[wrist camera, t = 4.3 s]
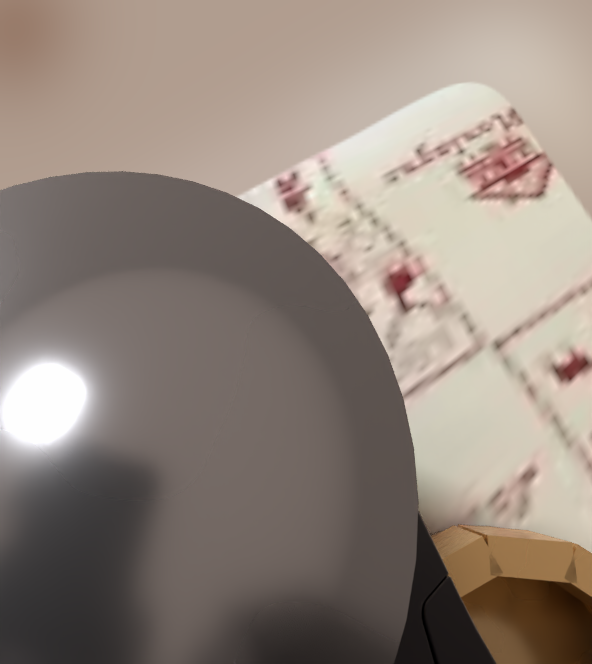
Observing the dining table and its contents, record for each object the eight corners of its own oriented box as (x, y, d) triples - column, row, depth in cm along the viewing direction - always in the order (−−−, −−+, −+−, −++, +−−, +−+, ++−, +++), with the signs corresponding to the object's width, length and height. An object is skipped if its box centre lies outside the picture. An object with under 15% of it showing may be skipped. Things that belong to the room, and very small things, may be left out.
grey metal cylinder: (361, 507, 14) (621, 709, 2) (228, 578, 14) (-430, 1382, 2) (298, 380, 16) (243, 84, 4) (177, 438, 16) (-340, 313, 3)
